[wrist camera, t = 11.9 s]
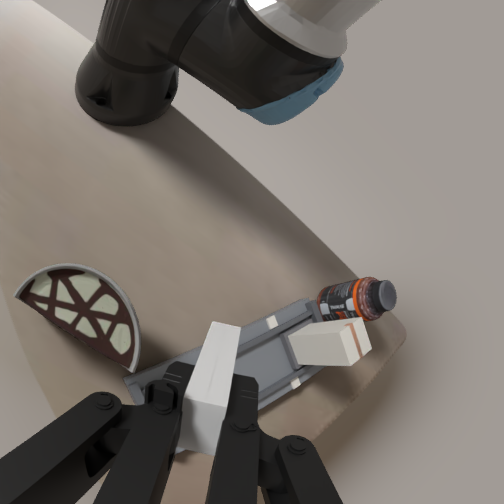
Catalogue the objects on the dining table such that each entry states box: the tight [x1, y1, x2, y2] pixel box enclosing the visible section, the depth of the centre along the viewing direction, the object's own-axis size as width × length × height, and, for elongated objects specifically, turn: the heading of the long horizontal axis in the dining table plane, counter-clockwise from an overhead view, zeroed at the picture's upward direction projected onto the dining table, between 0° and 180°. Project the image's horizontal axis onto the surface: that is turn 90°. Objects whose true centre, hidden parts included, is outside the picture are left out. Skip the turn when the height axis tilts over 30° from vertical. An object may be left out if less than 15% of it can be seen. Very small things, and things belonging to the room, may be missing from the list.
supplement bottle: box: [317, 277, 397, 322], centre depth 43 cm, size 6×6×11 cm
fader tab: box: [279, 317, 372, 369], centre depth 36 cm, size 5×5×10 cm
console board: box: [123, 298, 326, 454], centre depth 36 cm, size 10×26×3 cm, turn 114°
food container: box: [14, 263, 141, 373], centre depth 27 cm, size 12×6×10 cm, turn 64°
